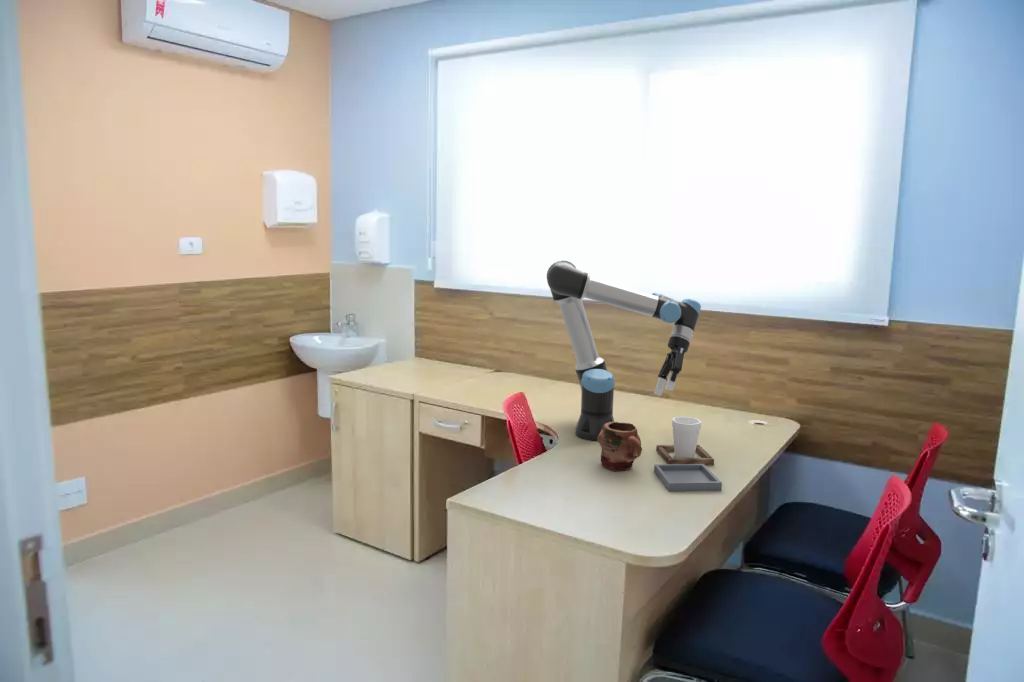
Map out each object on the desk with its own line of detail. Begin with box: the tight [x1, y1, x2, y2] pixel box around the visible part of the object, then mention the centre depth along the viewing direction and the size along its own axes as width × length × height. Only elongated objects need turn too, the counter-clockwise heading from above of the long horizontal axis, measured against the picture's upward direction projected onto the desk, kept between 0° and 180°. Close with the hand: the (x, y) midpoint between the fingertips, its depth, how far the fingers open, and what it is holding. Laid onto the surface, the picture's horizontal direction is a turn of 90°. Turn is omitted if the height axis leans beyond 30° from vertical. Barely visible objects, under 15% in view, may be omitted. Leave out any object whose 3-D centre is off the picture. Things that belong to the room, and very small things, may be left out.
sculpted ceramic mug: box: [596, 421, 643, 472], centre depth 231 cm, size 20×12×14 cm, turn 34°
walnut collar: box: [655, 444, 715, 466], centre depth 243 cm, size 15×15×2 cm
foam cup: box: [671, 416, 702, 458], centre depth 242 cm, size 10×9×13 cm
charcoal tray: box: [653, 463, 723, 492], centre depth 222 cm, size 16×16×2 cm
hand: (662, 392), depth 264 cm, fingers open, 13 cm apart
